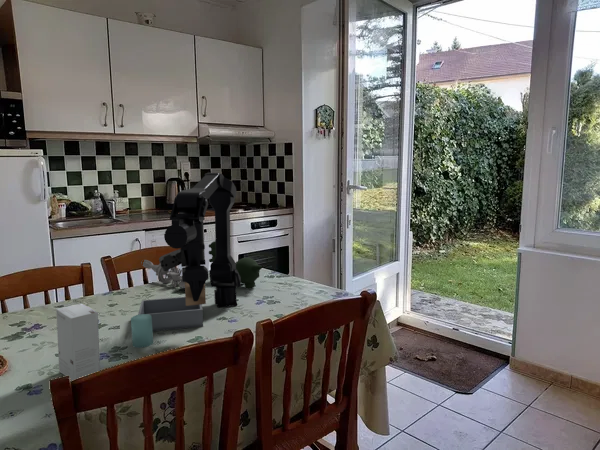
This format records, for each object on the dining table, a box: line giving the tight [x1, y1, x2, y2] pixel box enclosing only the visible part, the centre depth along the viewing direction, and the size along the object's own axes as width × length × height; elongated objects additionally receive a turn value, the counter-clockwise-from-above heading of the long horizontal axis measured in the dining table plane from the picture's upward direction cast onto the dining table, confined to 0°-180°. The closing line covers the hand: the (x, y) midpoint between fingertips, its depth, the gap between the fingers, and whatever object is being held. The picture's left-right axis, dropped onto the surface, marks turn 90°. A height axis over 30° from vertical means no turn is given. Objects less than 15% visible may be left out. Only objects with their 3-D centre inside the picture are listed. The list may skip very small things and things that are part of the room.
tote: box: [137, 296, 204, 333], centre depth 126 cm, size 17×13×5 cm
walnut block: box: [184, 282, 207, 306], centre depth 114 cm, size 5×5×5 cm
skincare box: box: [55, 302, 101, 381], centre depth 94 cm, size 8×6×15 cm
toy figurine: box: [208, 240, 263, 290], centre depth 161 cm, size 10×19×26 cm
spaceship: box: [142, 259, 185, 288], centre depth 165 cm, size 8×35×8 cm
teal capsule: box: [130, 314, 154, 349], centre depth 111 cm, size 5×5×7 cm
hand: (195, 297), depth 114 cm, fingers closed on walnut block, 5 cm apart
